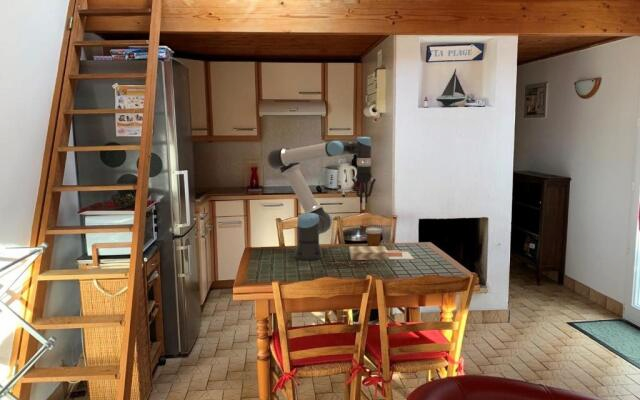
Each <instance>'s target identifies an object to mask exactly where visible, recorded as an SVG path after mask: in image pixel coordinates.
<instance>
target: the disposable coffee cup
mask: <svg viewBox="0 0 640 400" xmlns="http://www.w3.org/2000/svg"><path fill="white" fill-rule="evenodd" d="M365 229H366V230H365V233H366V242H367V246H380V244H381V237H382V236H381V235H382V232H383V230H382V228H380V227H366V228H365Z"/></svg>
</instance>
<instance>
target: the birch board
mask: <svg viewBox="0 0 640 400" xmlns="http://www.w3.org/2000/svg"><path fill="white" fill-rule="evenodd" d="M348 250H349V251H348V253H349V257H350V261H351V260H352V261H363V260H364V261H366V260H367V261H373V260H375V259H377V260H375V261H380V260H381V261H386V260H387V261H388V260H389V252H388V251H387V250H388V249H387V248H386V246H384V245H381V246H380V245H379V246H368V245H367V246H364V245H363V246H360V245H359V246H357V245H356V246H349V249H348Z"/></svg>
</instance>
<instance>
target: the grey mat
mask: <svg viewBox="0 0 640 400" xmlns="http://www.w3.org/2000/svg"><path fill="white" fill-rule="evenodd" d="M401 252H402V257H389V260H390V261H412V260H413V261H414V260H415V258H414V257H413V256H412V255H411V253H410V251H401Z"/></svg>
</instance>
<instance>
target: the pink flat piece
mask: <svg viewBox="0 0 640 400" xmlns="http://www.w3.org/2000/svg"><path fill="white" fill-rule="evenodd" d="M387 251H388V252H389V257H402V252H403V251H401V250H399V249H397V250H395V249H393V250H390V249H389V250H388V249H387Z"/></svg>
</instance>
